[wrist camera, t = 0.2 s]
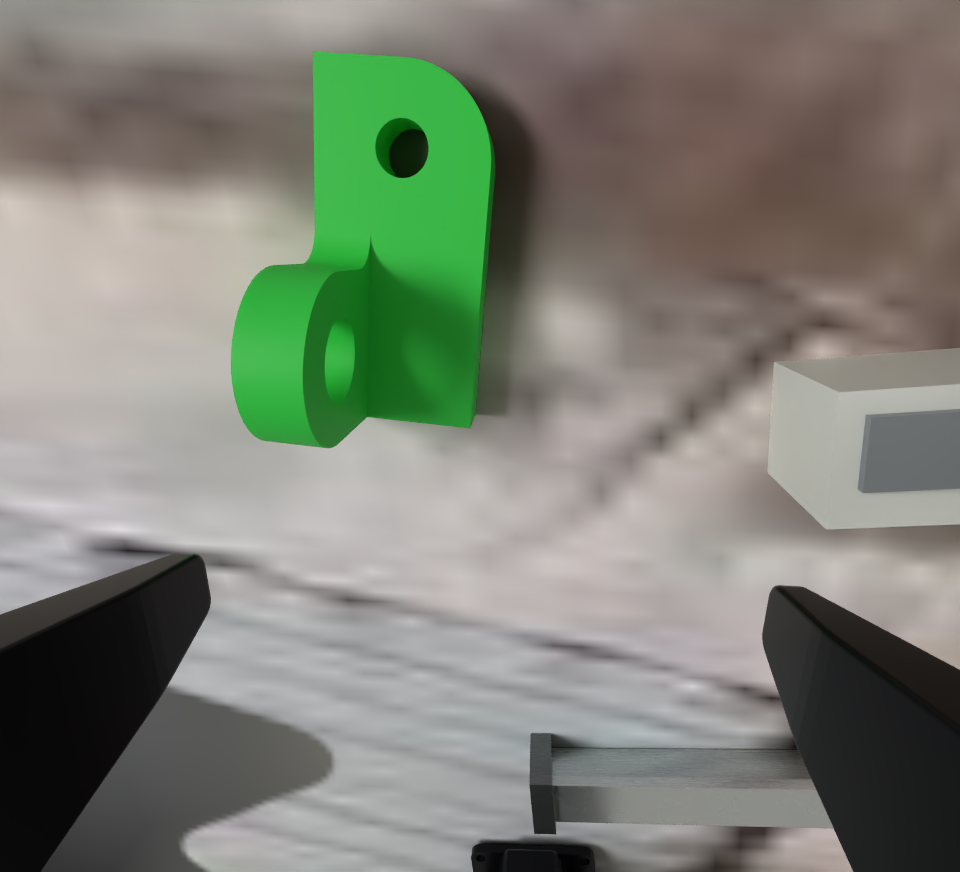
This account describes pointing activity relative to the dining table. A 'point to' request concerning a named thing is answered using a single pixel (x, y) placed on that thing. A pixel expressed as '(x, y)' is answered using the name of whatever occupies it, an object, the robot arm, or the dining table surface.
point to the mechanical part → (375, 265)
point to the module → (869, 438)
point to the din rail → (671, 787)
